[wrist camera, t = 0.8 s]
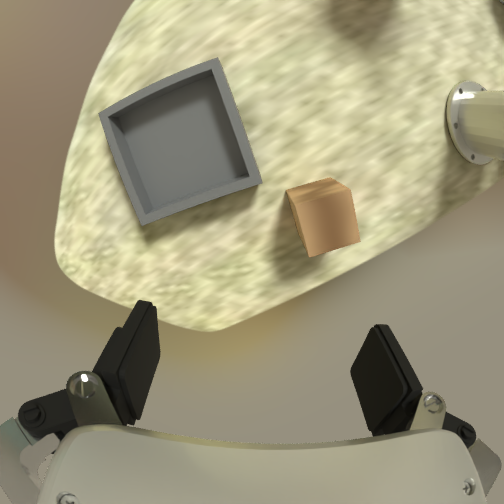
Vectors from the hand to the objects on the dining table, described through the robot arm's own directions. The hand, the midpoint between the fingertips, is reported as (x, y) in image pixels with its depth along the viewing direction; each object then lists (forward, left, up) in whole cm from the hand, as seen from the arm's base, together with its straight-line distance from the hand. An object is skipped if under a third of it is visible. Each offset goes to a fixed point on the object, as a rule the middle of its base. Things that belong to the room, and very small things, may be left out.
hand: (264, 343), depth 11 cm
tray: (+5, -10, -23) cm, 25 cm away
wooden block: (-7, +2, -23) cm, 24 cm away
